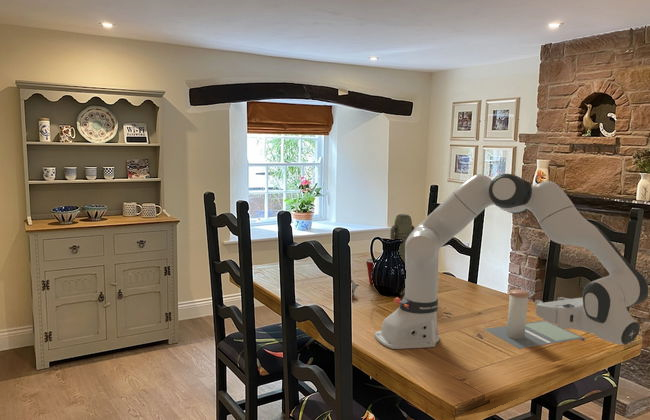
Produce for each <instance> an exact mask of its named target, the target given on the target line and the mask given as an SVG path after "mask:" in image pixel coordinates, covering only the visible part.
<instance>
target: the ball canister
mask: <svg viewBox="0 0 650 420" xmlns="http://www.w3.org/2000/svg"><path fill="white" fill-rule="evenodd" d="M529 293H530V292H528V291H527V290H522V289H510V290H509V299H508V313H507V324H506V326H507V336H508V337H509V338H512V339H524V338H525V328H526V323H527V315H528V305H529V304H528V303H529Z"/></svg>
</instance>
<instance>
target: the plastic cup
mask: <svg viewBox="0 0 650 420" xmlns="http://www.w3.org/2000/svg"><path fill="white" fill-rule="evenodd" d="M372 258H373V257H371V258H366V259H365V262H366V267H367V276H368V282H369V285H370V286H373V282H372V278H371V272H372V267H373V260H372Z"/></svg>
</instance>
